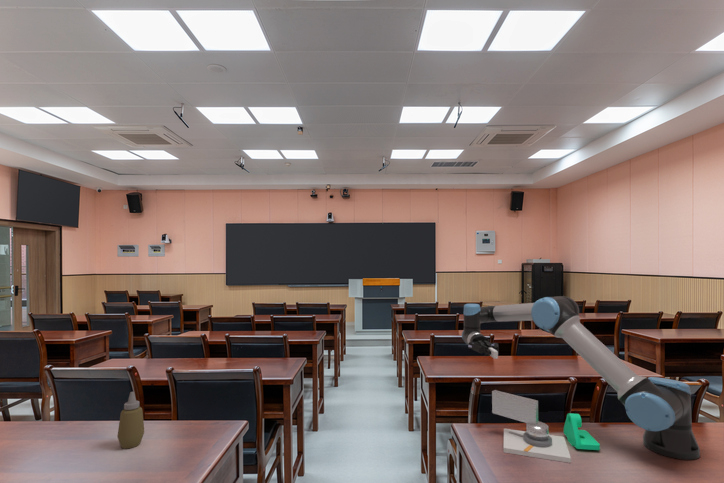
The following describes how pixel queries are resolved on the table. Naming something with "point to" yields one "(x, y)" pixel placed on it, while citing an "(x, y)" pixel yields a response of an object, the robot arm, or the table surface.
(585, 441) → the green mounting bracket
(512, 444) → the post base
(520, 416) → the brushed metal plate
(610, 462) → the table surface
